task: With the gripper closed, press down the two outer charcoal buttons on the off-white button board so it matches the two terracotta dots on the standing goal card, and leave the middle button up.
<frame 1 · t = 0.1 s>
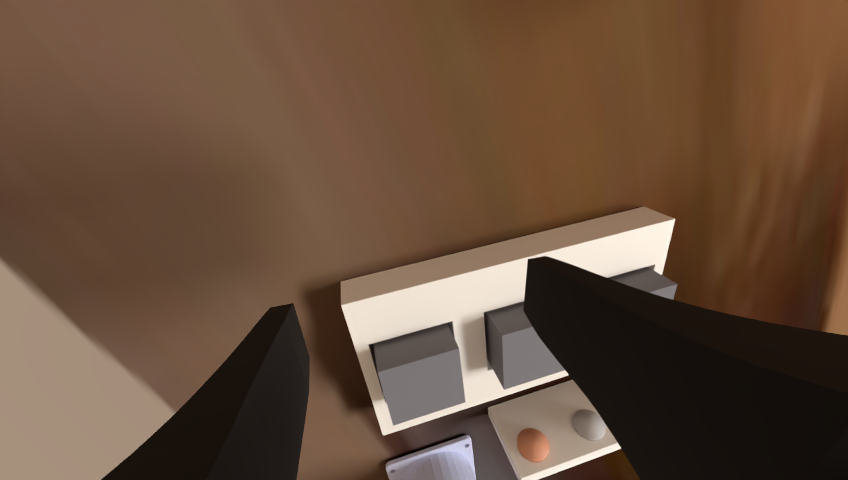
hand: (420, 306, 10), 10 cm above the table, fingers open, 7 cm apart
button cup side: (419, 369, 21), point 3 cm above the table, slide at 0.0 cm
button mug side: (622, 309, 23), point 3 cm above the table, slide at 0.0 cm
button middle: (526, 337, 22), point 3 cm above the table, slide at 0.0 cm
goal card: (557, 388, 30), on the table
button board: (505, 310, 25), on the table
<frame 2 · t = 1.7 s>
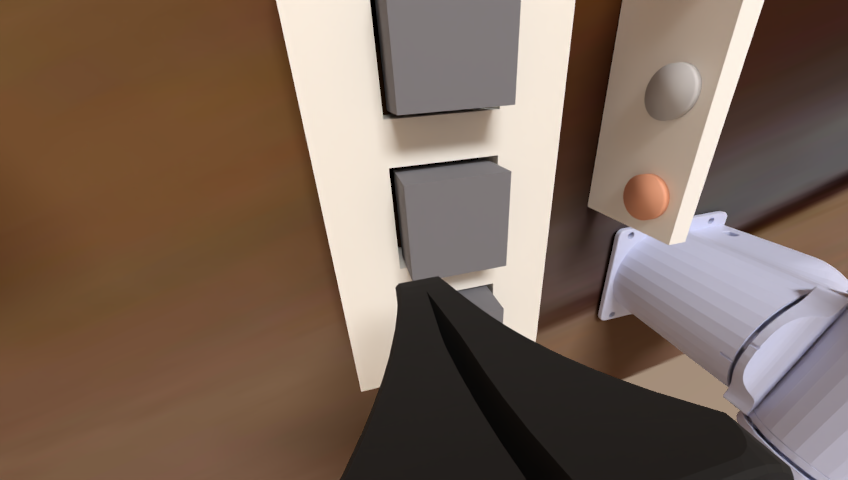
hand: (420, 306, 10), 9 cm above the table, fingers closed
button cup side: (453, 334, 19), point 3 cm above the table, slide at 0.0 cm
button mug side: (445, 42, 13), point 3 cm above the table, slide at 0.0 cm
button middle: (450, 218, 16), point 3 cm above the table, slide at 0.0 cm
goal card: (614, 90, 19), on the table
button board: (434, 199, 19), on the table
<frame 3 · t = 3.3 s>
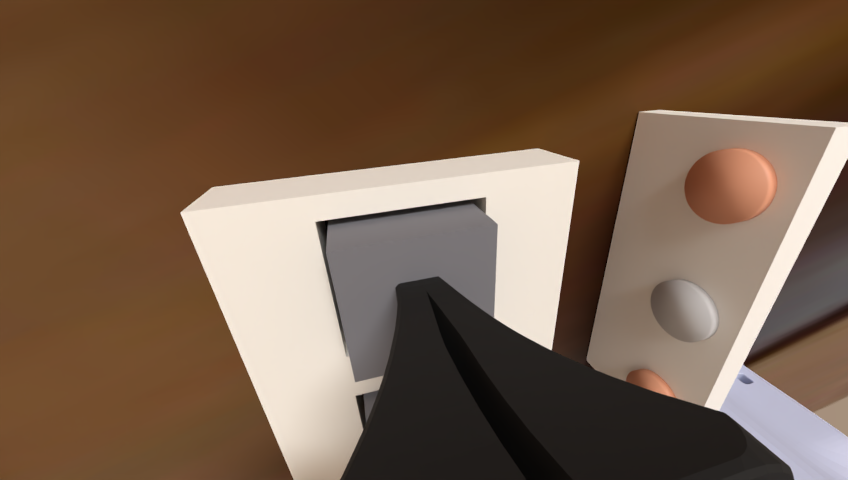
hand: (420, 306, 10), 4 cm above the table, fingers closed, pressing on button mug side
button mug side: (412, 282, 11), point 3 cm above the table, slide at 0.5 cm, touching gripper
button middle: (428, 433, 14), point 3 cm above the table, slide at 0.0 cm
goal card: (616, 257, 16), on the table
button board: (413, 378, 17), on the table
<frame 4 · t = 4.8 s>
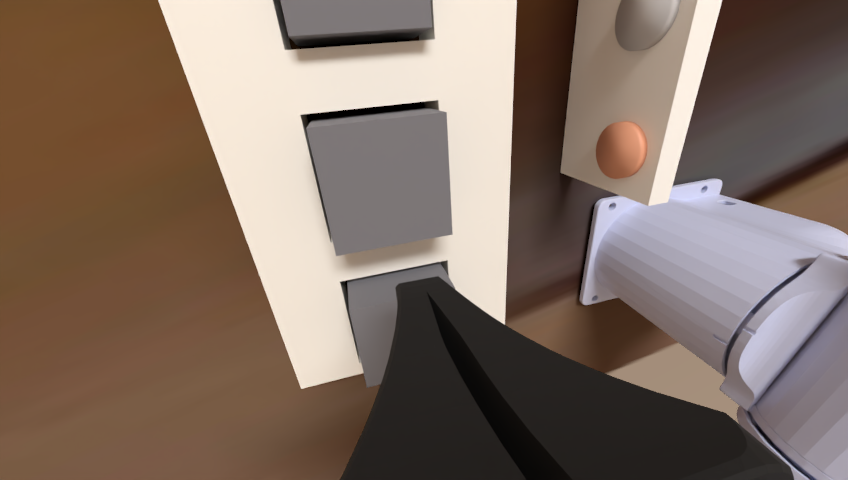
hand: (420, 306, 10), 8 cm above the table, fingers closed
button cup side: (403, 320, 17), point 3 cm above the table, slide at 0.0 cm
button middle: (383, 178, 13), point 3 cm above the table, slide at 0.0 cm
goal card: (584, 29, 16), on the table
button board: (375, 163, 16), on the table
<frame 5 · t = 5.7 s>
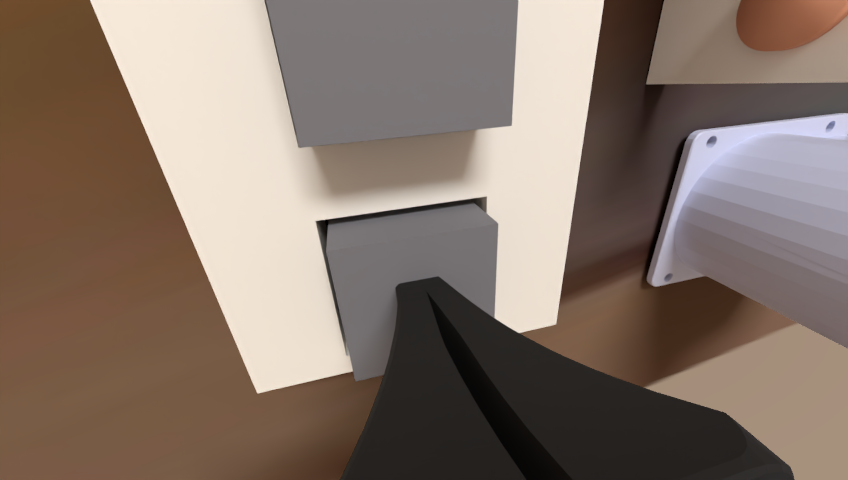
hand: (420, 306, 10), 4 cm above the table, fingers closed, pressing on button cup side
button cup side: (412, 282, 11), point 3 cm above the table, slide at 0.5 cm, touching gripper
button middle: (391, 18, 7), point 3 cm above the table, slide at 0.0 cm
button board: (376, 37, 10), on the table
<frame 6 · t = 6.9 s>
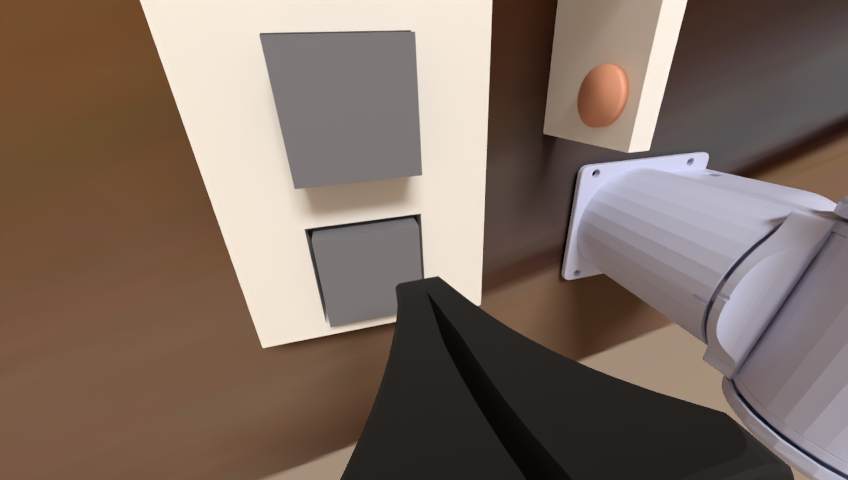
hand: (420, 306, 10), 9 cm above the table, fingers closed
button cup side: (370, 264, 17), point 2 cm above the table, slide at 1.2 cm
button middle: (350, 111, 12), point 3 cm above the table, slide at 0.0 cm
button board: (347, 107, 15), on the table
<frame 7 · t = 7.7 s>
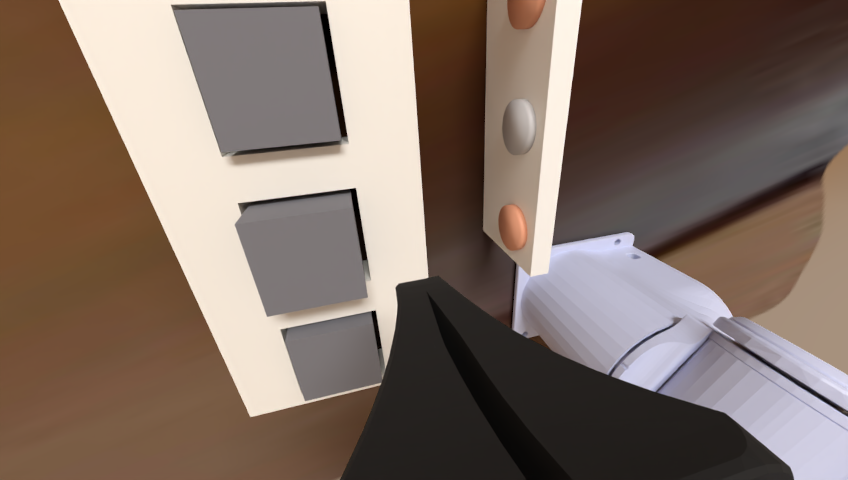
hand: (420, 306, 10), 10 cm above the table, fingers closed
button cup side: (337, 346, 20), point 2 cm above the table, slide at 1.2 cm
button mug side: (273, 83, 14), point 2 cm above the table, slide at 1.2 cm
button middle: (310, 250, 16), point 3 cm above the table, slide at 0.0 cm
goal card: (493, 118, 19), on the table
button board: (314, 227, 19), on the table
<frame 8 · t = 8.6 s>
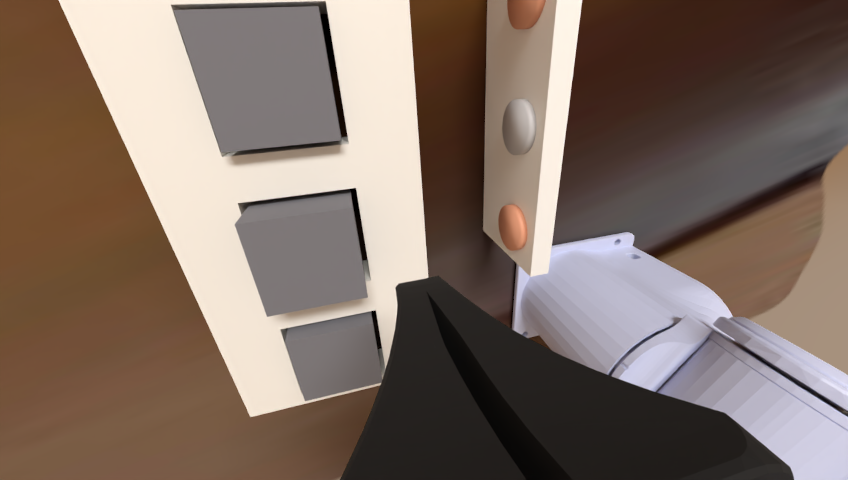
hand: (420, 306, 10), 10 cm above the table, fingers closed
button cup side: (337, 346, 20), point 2 cm above the table, slide at 1.2 cm
button mug side: (273, 83, 14), point 2 cm above the table, slide at 1.2 cm
button middle: (310, 250, 16), point 3 cm above the table, slide at 0.0 cm
goal card: (493, 118, 19), on the table
button board: (314, 227, 19), on the table
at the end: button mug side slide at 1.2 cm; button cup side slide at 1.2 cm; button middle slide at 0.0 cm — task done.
